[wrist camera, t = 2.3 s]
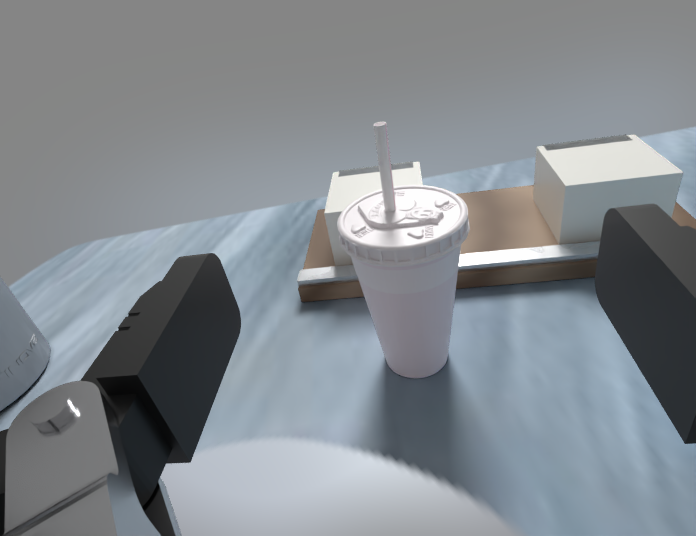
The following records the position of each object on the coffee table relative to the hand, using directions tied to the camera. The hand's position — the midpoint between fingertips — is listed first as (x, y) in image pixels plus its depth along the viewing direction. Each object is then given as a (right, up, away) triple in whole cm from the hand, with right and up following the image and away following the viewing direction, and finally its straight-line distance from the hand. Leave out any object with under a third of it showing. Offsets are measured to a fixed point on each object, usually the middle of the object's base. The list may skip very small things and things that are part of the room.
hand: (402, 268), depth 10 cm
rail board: (+10, +2, +27) cm, 28 cm away
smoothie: (+3, -5, +18) cm, 19 cm away
